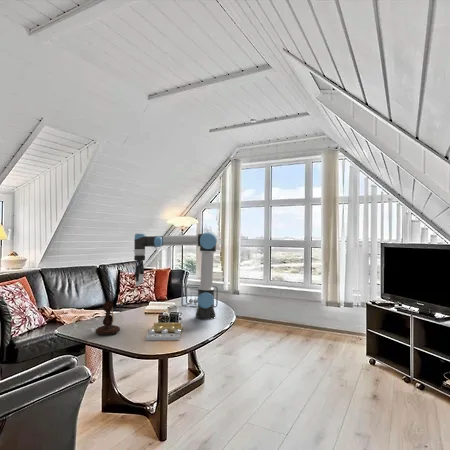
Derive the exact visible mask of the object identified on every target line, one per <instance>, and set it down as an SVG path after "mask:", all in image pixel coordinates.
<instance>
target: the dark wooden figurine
mask: <svg viewBox="0 0 450 450" xmlns="http://www.w3.org/2000/svg"><path fill="white" fill-rule="evenodd" d="M113 307H114V302H113V301H112V300H106V301H105V302H104V304H103V305H102V309H103V311H104V312H105V315H104V318H103V320H102V324H103V325H101V326H99V327H97V328H96V329H95V333H97V334H98V336H100V335H108V334H110V335H111V334H114V335H117V333H118V332H120V331H121V327H120V326H118V325H115V324H114V325H113V323H114V313H113V312H114V311H113Z"/></svg>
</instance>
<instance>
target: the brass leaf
mask: <svg viewBox="0 0 450 450" xmlns="http://www.w3.org/2000/svg"><path fill="white" fill-rule="evenodd" d="M183 327H184V326H183V325H182V322H154V323H153V325H152V326H151V327H150V330H155V333H161V331H162V330H168V333H175V330H181V332H182V331H183Z"/></svg>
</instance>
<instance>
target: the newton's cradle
mask: <svg viewBox="0 0 450 450" xmlns="http://www.w3.org/2000/svg"><path fill="white" fill-rule="evenodd" d="M199 287H200V284H186V285H183V286H182V287H181V300H180V301H181V303H180V304H181V306H182V307H183V306H188V305H189V304H198V302H197V298H194V299H193V298H192V297H193V295H192V294H190V298H189V300H188V288H189V289H190V290H189V291H190V292H192V289H195V290H198V288H199ZM212 287H213V288H214V289H216V292H215V293H216V297H215V299H216V300H215V301H216V304H215V302H214V303H213V308H214V309H215V306H214V305H216V307H218V302H219V301H218V300H219V299H218V294H219V293H218V292H219V291H218V290H219V289H218V288H219V287H218V286H217V285H212ZM184 288H185V303H186V304H183V303H184V301H183V300H184V298H183V296H184ZM189 306H190V307H189V308H195V307H198V305H189Z"/></svg>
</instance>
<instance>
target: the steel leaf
mask: <svg viewBox="0 0 450 450" xmlns="http://www.w3.org/2000/svg"><path fill="white" fill-rule="evenodd" d="M147 330H148V331H147V334H146V336H145V341H180V339H181V335H182V331H181V330H175V332H174V333H169V331H168V330H162V331H161V332H160V333H156V331H155V330H151V329H147Z"/></svg>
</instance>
